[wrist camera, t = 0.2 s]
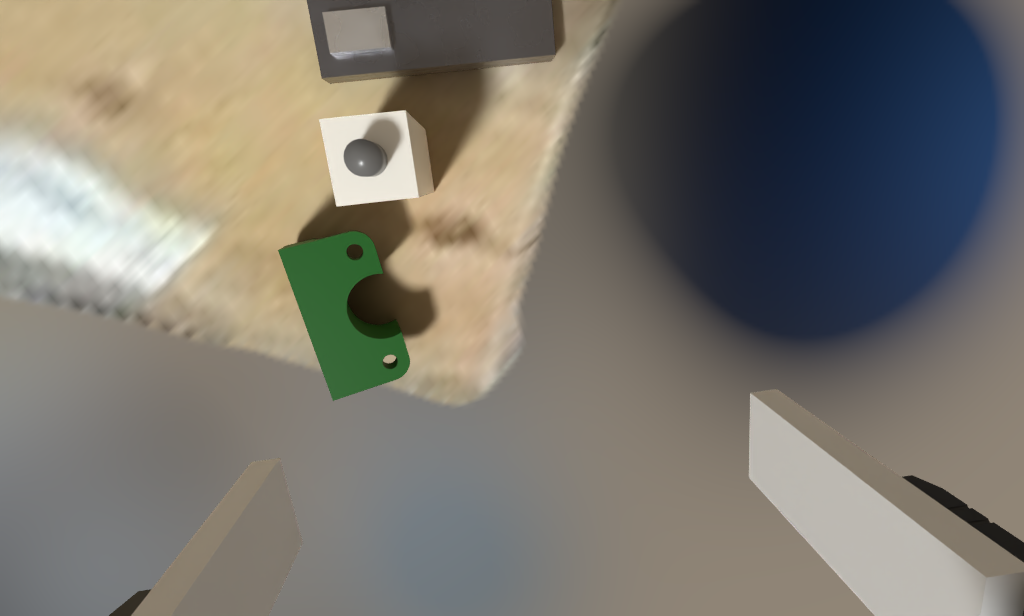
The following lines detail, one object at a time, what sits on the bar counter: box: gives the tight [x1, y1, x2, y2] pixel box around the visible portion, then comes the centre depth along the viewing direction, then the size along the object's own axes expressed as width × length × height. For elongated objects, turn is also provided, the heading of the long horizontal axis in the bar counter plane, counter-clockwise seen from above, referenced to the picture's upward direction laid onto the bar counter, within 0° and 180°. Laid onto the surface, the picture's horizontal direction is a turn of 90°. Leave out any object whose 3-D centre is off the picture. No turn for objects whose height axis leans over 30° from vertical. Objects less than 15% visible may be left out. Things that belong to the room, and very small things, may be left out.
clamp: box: [278, 231, 410, 401], centre depth 37 cm, size 12×6×9 cm, turn 7°
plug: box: [319, 110, 434, 207], centre depth 31 cm, size 4×4×13 cm
